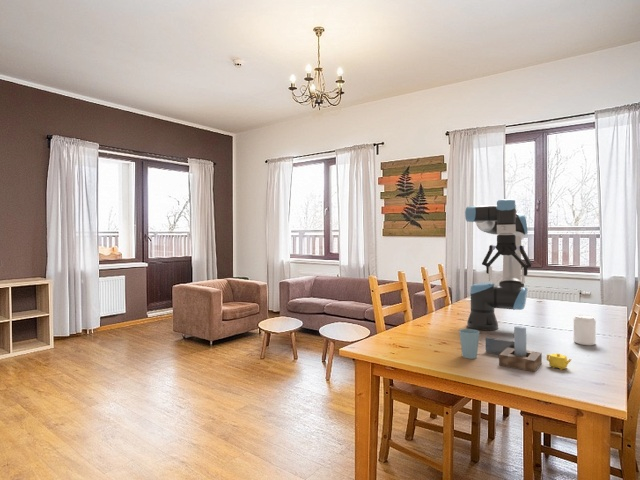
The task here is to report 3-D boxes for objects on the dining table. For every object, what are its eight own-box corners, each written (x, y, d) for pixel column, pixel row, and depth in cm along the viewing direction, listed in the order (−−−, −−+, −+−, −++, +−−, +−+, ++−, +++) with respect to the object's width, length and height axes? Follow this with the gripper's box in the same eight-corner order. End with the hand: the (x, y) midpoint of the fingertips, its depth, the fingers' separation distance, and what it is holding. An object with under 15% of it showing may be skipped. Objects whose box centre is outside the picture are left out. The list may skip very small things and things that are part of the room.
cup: (456, 353, 163) (456, 328, 163) (475, 353, 162) (475, 328, 162) (462, 359, 155) (462, 333, 155) (482, 359, 155) (482, 333, 154)
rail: (485, 352, 164) (485, 337, 164) (486, 351, 165) (486, 337, 165) (522, 358, 155) (522, 343, 155) (523, 357, 156) (523, 342, 156)
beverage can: (585, 346, 170) (585, 319, 170) (569, 341, 178) (569, 315, 178) (600, 345, 172) (600, 317, 172) (583, 340, 180) (583, 314, 180)
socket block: (499, 365, 148) (499, 354, 148) (507, 357, 157) (507, 347, 157) (534, 371, 141) (534, 360, 141) (541, 363, 150) (541, 352, 150)
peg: (513, 364, 149) (513, 327, 148) (516, 361, 152) (515, 325, 152) (524, 366, 146) (524, 329, 146) (527, 363, 149) (527, 327, 149)
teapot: (574, 368, 144) (574, 354, 144) (569, 372, 140) (569, 357, 140) (549, 363, 150) (549, 349, 150) (545, 366, 146) (544, 353, 146)
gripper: (474, 234, 179) (475, 281, 180) (535, 234, 163) (536, 285, 164) (479, 234, 185) (480, 279, 186) (539, 233, 169) (539, 282, 170)
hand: (506, 282), depth 175 cm, fingers open, 13 cm apart
